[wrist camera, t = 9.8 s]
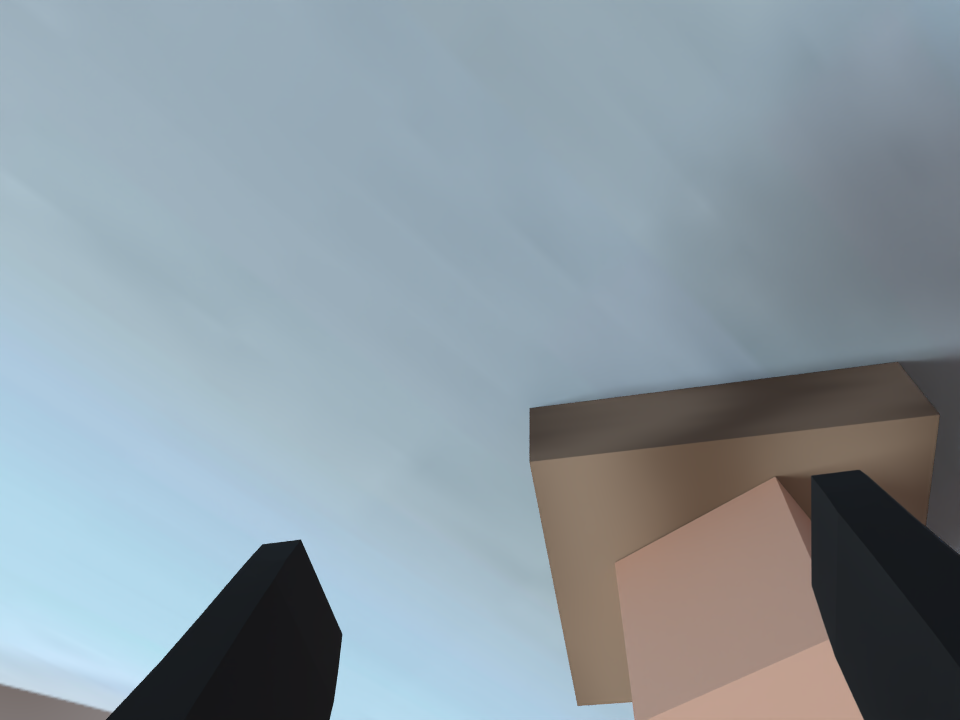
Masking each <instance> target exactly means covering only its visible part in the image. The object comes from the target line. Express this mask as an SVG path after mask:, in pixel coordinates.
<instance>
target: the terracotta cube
mask: <svg viewBox="0 0 960 720" xmlns="http://www.w3.org/2000/svg"><path fill="white" fill-rule="evenodd" d="M615 569H616V577H617V585H618V593H619V601H620V609H621V616H622V624H623V632H624V640H625V648H626V656H627V663H628V671H629V679H630V687H631V695H632V703H633V710H634V718H635V720H864V719H863V717H862V715H861V713H860V710H859V708H858V706H857V704H856V702H855V700H854V697H853V695H852V693H851V691H850V689H849V687H848V684H847V682H846V680H845V678H844V676H843V673H842V671H841V669H840V667H839V665H838V662H837V660H836V658H835V655H834V652H833V649H832V646H831V643H830V641H829V638H828V635H827V632H826V629H825V626H824V623H823V620H822V617H821V613H820V610H819V607H818V604H817V601H816V598H815V595H814V592H813V589H812V585H811V520H810V518H809V517H808V516H807V515H806V514H805V512H804V511H803V510H802V509H801V507H800V506H799V505H798V504H797V503H796V501H795V500H794V499H793V498H792V496H791V495H790V494H789V493H788V492H787V490H786V489H785V488H784V487H783V485H782V484H781V483H780V482H779V481H778V479H777V478H776V477H773V478H772V479H770V480H768V481H766V482H764V483H762V484H760V485H759V486H757V487H755V488H753V489H751V490H749V491H747V492H746V493H744V494H742V495H740V496H738V497H736V498H734V499H732V500H731V501H729V502H727V503H725V504H723V505H721V506H719V507H718V508H716V509H714V510H712V511H710V512H708V513H706V514H705V515H703V516H701V517H699V518H697V519H695V520H693V521H692V522H690V523H688V524H686V525H684V526H682V527H680V528H679V529H677V530H675V531H673V532H671V533H669V534H667V535H666V536H664V537H662V538H660V539H658V540H656V541H654V542H653V543H651V544H649V545H647V546H645V547H643V548H641V549H640V550H638V551H636V552H634V553H632V554H630V555H628V556H627V557H625V558H623V559H621V560H619V561H617V562H615Z"/></svg>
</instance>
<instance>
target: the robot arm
mask: <svg viewBox="0 0 960 720" xmlns="http://www.w3.org/2000/svg"><path fill="white" fill-rule="evenodd" d="M811 585H812V589H813V592H814V595H815V598H816V601H817V604H818V607H819V610H820V613H821V617H822V620H823V623H824V626H825V629H826V632H827V635H828V638H829V641H830V643H831V646H832V649H833V652H834V655H835V658H836V660H837V662H838V665H839V667H840V669H841V671H842V673H843V676H844V678H845V680H846V682H847V684H848V687H849V689H850V691H851V693H852V695H853V697H854V700H855V702H856V704H857V706H858V708H859V710H860V713H861V715H862V717H863V719H864V720H960V555H959V554H958V553H957V552H955V551H954V550H953V549H952V548H951V547H949V546H948V545H947V544H946V543H945V542H943V541H942V540H941V539H940V538H939V537H937V536H936V535H935V534H934V533H933V532H932V531H930V530H929V529H928V528H927V527H926V526H925V525H923V524H922V523H921V522H920V521H919V520H918V519H916V518H915V517H914V516H913V515H912V514H911V513H909V512H908V511H907V510H906V509H905V508H904V507H903V506H901V505H900V504H899V503H898V502H897V501H896V500H895V499H894V498H892V497H891V496H890V495H889V494H888V493H887V492H886V491H885V490H883V489H882V488H881V487H880V486H879V485H878V484H877V483H876V482H874V481H873V480H872V479H871V478H870V477H869V476H868V475H866V474H865V473H864V472H862V471H861V470H852V471H844V472H836V473H828V474H820V475H812V476H811ZM341 642H342V632H341V630H340V628H339V626H338V623H337V621H336V619H335V616H334V614H333V612H332V610H331V607H330V605H329V603H328V600H327V598H326V596H325V594H324V591H323V589H322V587H321V584H320V582H319V580H318V578H317V575H316V573H315V571H314V568H313V566H312V564H311V562H310V559H309V557H308V555H307V552H306V550H305V548H304V546H303V543H302V541H301V540H294V541H286V542H278V543H270V544H262V546H261V547H260V548H259V549H258V550H257V551H256V552H255V553H254V554H253V555H252V556H251V558H250V559H249V560H248V561H247V562H246V563H245V564H244V565H243V567H242V568H241V569H240V570H239V571H238V572H237V574H236V575H235V576H234V577H233V578H232V579H231V581H230V582H229V583H228V584H227V585H226V586H225V588H224V589H223V590H222V591H221V592H220V593H219V595H218V596H217V597H216V598H215V599H214V601H213V602H212V603H211V604H210V605H209V606H208V608H207V609H206V610H205V611H204V612H203V613H202V615H201V616H200V617H199V618H198V619H197V620H196V621H195V623H194V624H193V625H192V626H191V627H190V628H189V629H188V631H187V632H186V633H185V634H184V635H183V636H182V638H181V639H180V640H179V641H178V642H177V643H176V644H175V646H174V647H173V648H172V649H171V650H170V651H169V652H168V654H167V655H166V656H165V657H164V658H163V659H162V660H161V662H160V663H159V664H158V665H157V666H156V667H155V668H154V669H153V670H152V671H151V672H150V673H149V674H148V675H147V677H146V678H145V679H144V680H143V681H142V682H141V683H140V684H139V685H138V686H137V687H136V688H135V689H134V690H133V691H132V692H131V694H130V695H129V696H128V697H127V698H126V699H125V700H124V701H123V702H122V703H121V704H120V705H119V706H118V707H117V708H116V710H115V711H114V712H113V713H112V714H111V715H110V716H109V717H108V718H107V719H106V720H329V719H330V715H331V711H332V707H333V703H334V696H335V689H336V682H337V675H338V668H339V659H340V650H341Z"/></svg>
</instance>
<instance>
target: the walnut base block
mask: <svg viewBox="0 0 960 720" xmlns="http://www.w3.org/2000/svg"><path fill="white" fill-rule="evenodd" d="M939 417H940V414H939V413H938V412H937V411H936V409H935V408H934V407H933V406H932V404H931V403H930V402H929V401H928V399H927V398H926V397H925V396H924V394H923V393H922V392H921V391H920V389H919V388H918V387H917V386H916V384H915V383H914V382H913V380H912V379H911V378H910V377H909V375H908V374H907V373H906V372H905V370H904V369H903V368H902V367H901V365H900V364H899V363H898V362H892V363H884V364H876V365H868V366H861V367H853V368H845V369H837V370H829V371H821V372H813V373H805V374H797V375H789V376H781V377H773V378H765V379H758V380H750V381H742V382H734V383H726V384H718V385H710V386H702V387H694V388H686V389H678V390H670V391H663V392H655V393H647V394H639V395H631V396H623V397H615V398H607V399H599V400H591V401H583V402H575V403H567V404H560V405H552V406H544V407H536V408H530V467H531V472H532V477H533V482H534V487H535V492H536V497H537V502H538V507H539V512H540V518H541V523H542V528H543V533H544V538H545V543H546V548H547V553H548V558H549V563H550V568H551V573H552V578H553V583H554V589H555V594H556V599H557V604H558V609H559V614H560V619H561V624H562V629H563V634H564V639H565V644H566V649H567V654H568V659H569V665H570V670H571V675H572V680H573V685H574V690H575V695H576V700H577V705H578V706H582V705H597V704H611V703H626V702H632V695H631V687H630V679H629V671H628V663H627V656H626V648H625V640H624V632H623V624H622V616H621V609H620V601H619V593H618V585H617V577H616V569H615V562H617V561H619V560H621V559H623V558H625V557H627V556H628V555H630V554H632V553H634V552H636V551H638V550H640V549H641V548H643V547H645V546H647V545H649V544H651V543H653V542H654V541H656V540H658V539H660V538H662V537H664V536H666V535H667V534H669V533H671V532H673V531H675V530H677V529H679V528H680V527H682V526H684V525H686V524H688V523H690V522H692V521H693V520H695V519H697V518H699V517H701V516H703V515H705V514H706V513H708V512H710V511H712V510H714V509H716V508H718V507H719V506H721V505H723V504H725V503H727V502H729V501H731V500H732V499H734V498H736V497H738V496H740V495H742V494H744V493H746V492H747V491H749V490H751V489H753V488H755V487H757V486H759V485H760V484H762V483H764V482H766V481H768V480H770V479H772V478H773V477H776V478H777V479H778V481H779V482H780V483H781V484H782V485H783V487H784V488H785V489H786V490H787V492H788V493H789V494H790V495H791V496H792V498H793V499H794V500H795V501H796V503H797V504H798V505H799V506H800V507H801V509H802V510H803V511H804V512H805V514H806V515H807V516H808V517H809V518H810V520H811V476H812V475H820V474H828V473H836V472H844V471H852V470H861V471H862V472H864V473H865V474H866V475H868V476H869V477H870V478H871V479H872V480H873V481H874V482H876V483H877V484H878V485H879V486H880V487H881V488H882V489H883V490H885V491H886V492H887V493H888V494H889V495H890V496H891V497H892V498H894V499H895V500H896V501H897V502H898V503H899V504H900V505H901V506H903V507H904V508H905V509H906V510H907V511H908V512H909V513H911V514H912V515H913V516H914V517H915V518H916V519H918V520H919V521H920V522H921V523H922V524H923V525H925V526H926V520H927V512H928V504H929V496H930V488H931V480H932V472H933V464H934V457H935V449H936V441H937V433H938V425H939Z"/></svg>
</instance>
